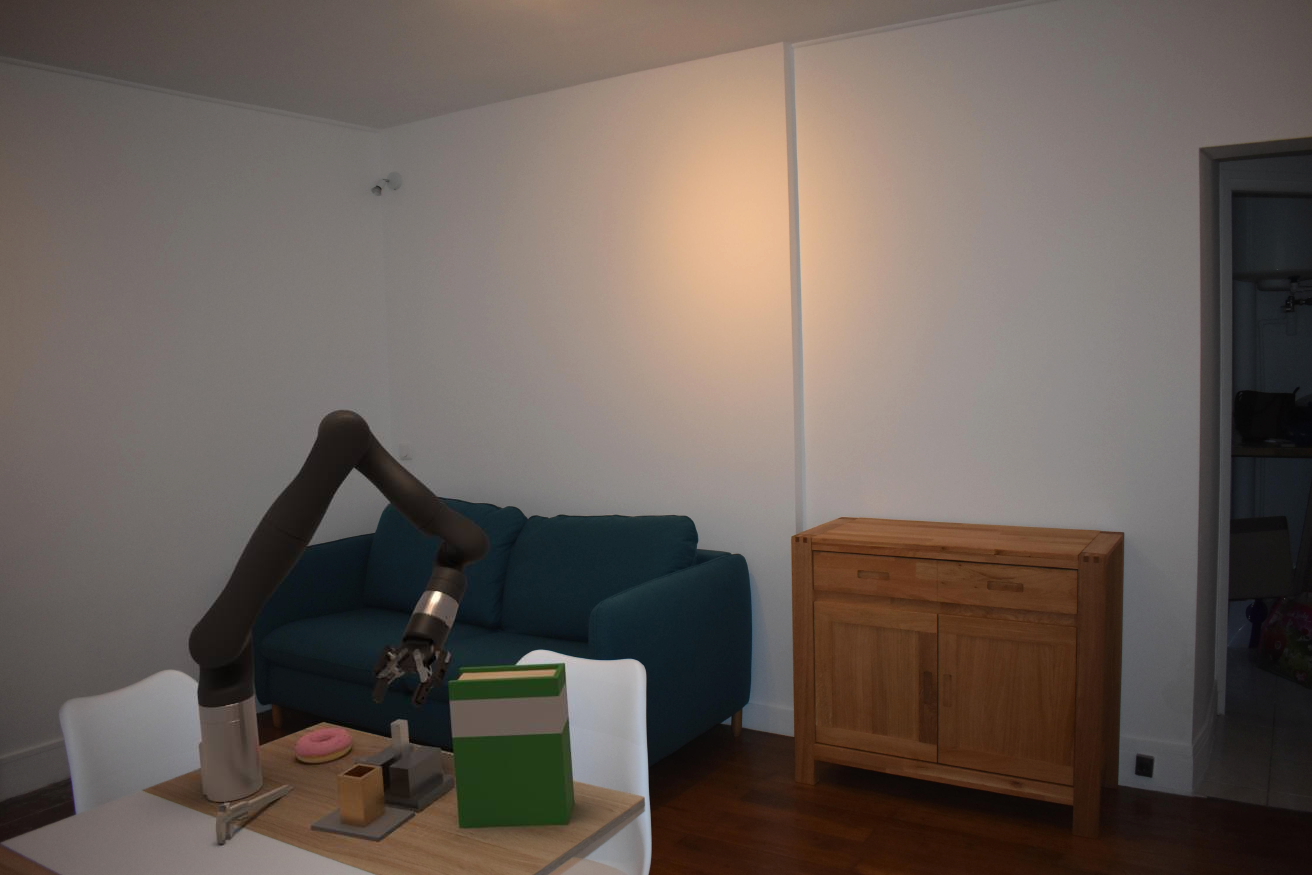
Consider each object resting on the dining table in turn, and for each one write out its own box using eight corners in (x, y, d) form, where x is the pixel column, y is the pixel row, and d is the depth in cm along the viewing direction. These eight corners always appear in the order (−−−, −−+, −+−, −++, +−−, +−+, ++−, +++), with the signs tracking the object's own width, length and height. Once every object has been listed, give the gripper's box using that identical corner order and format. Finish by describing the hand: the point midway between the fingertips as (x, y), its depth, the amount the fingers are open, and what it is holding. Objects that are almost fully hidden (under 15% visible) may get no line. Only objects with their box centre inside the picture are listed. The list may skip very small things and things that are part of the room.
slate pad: (311, 828, 148) (310, 825, 148) (349, 803, 157) (349, 800, 157) (378, 841, 143) (378, 837, 143) (415, 814, 151) (414, 811, 151)
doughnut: (320, 770, 172) (318, 748, 172) (282, 760, 178) (281, 740, 178) (365, 748, 182) (363, 728, 181) (328, 740, 187) (326, 720, 187)
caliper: (223, 846, 145) (219, 808, 144) (217, 846, 145) (213, 808, 144) (294, 789, 165) (291, 755, 164) (288, 788, 165) (285, 755, 165)
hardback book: (459, 828, 146) (448, 682, 144) (471, 806, 153) (460, 667, 151) (567, 824, 145) (557, 677, 143) (574, 802, 152) (564, 662, 150)
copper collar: (340, 822, 148) (336, 775, 148) (362, 809, 153) (358, 763, 153) (364, 827, 146) (360, 779, 146) (385, 813, 151) (381, 766, 150)
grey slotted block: (340, 799, 159) (334, 726, 158) (379, 774, 168) (373, 706, 167) (419, 812, 152) (412, 736, 151) (454, 786, 161) (449, 715, 160)
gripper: (390, 609, 168) (351, 690, 158) (453, 612, 162) (417, 697, 152) (411, 629, 173) (374, 709, 163) (473, 633, 167) (439, 716, 157)
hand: (395, 703), depth 158 cm, fingers open, 8 cm apart
